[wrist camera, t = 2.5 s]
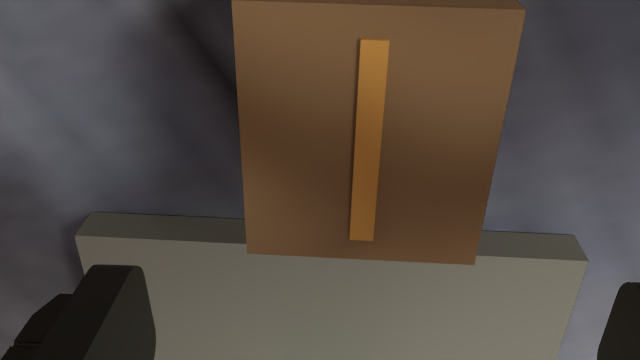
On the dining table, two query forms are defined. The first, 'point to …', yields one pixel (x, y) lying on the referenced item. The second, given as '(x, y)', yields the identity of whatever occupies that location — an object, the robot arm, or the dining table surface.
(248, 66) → the cardboard box
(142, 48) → the dining table surface
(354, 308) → the base plate
